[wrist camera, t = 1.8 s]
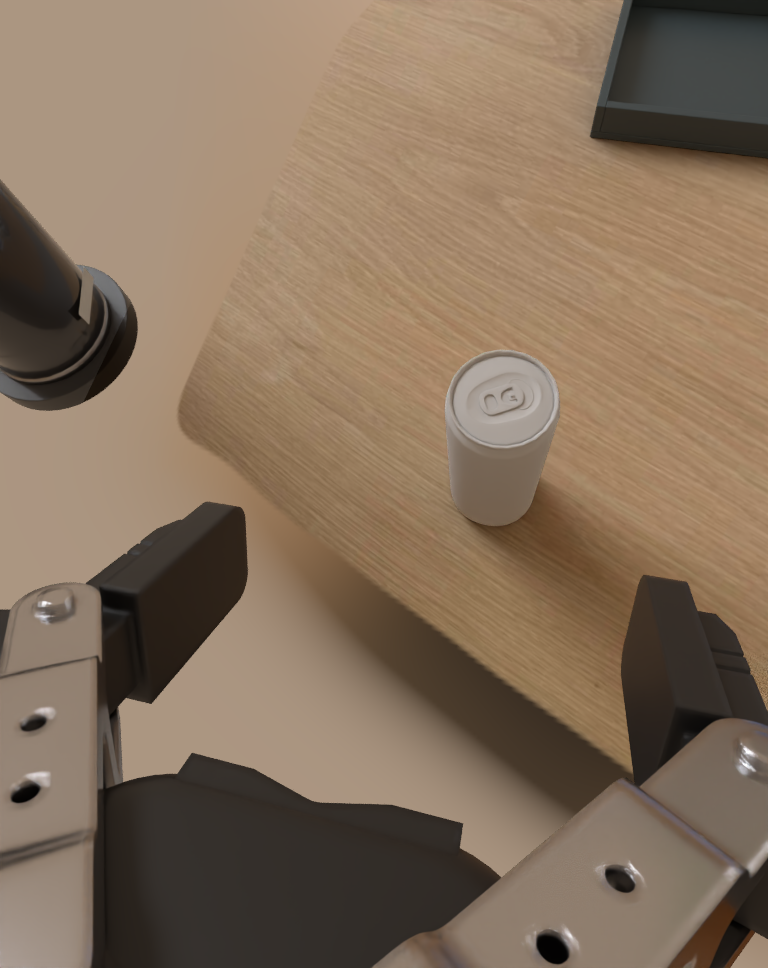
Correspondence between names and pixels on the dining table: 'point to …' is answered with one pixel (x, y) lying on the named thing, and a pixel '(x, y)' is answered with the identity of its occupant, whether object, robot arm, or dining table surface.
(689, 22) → the serving tray
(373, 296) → the dining table surface
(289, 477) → the dining table surface
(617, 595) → the dining table surface
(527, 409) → the beverage can
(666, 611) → the robot arm
